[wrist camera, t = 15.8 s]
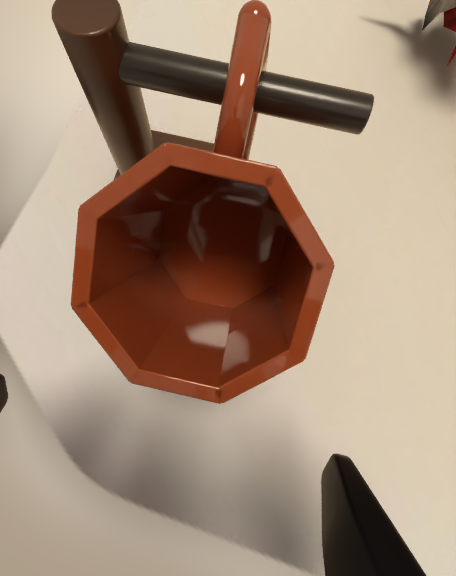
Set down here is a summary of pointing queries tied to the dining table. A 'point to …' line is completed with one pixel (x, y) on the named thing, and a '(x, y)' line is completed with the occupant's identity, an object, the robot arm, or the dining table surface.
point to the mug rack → (177, 84)
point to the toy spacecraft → (452, 3)
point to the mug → (203, 254)
